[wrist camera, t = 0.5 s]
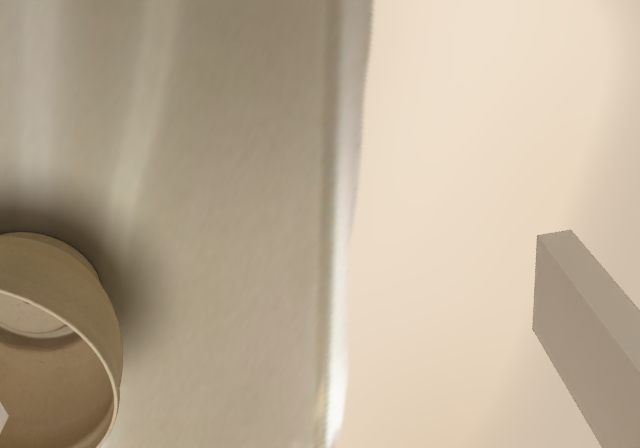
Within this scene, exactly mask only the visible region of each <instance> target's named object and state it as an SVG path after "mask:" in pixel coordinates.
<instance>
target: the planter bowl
mask: <svg viewBox="0 0 640 448" xmlns="http://www.w3.org/2000/svg"><path fill="white" fill-rule="evenodd" d="M122 367H123V346H122V338H121V332H120V328H119V324H118V320H117V317H116V314H115V311H114V308H113V306H112V304H111V301H110V299H109V297H108V295H107V294H106V292H105V290H104V289H103V287H102V286H101V283H100V280H99V277H98V275H97V273H96V271H95V270H94V268H93V267H92V265H91V264H90V263H89V261H88V260H87V259H86V258H85V257H84V256H83V255H82V254H81V253H79V252H78V251H77V250H76V249H74V248H73V247H71V246H69V245H68V244H66V243H64V242H62V241H60V240H57V239H55V238H52V237H49V236H46V235H42V234H37V233H31V232H13V233H6V234H1V235H0V402H1V404H2V406H3V407H4V409H5V411H6V412H7V414H8V418H7V421H6V423H5V425H4V427H3V429H2V431H1V433H0V448H100V447H101V446H102V445H103V443H104V442H105V441H106V439H107V438H108V436H109V435H110V433H111V431H112V429H113V426H114V424H115V420H116V417H117V413H118V407H119V399H120V390H119V388H120V383H121V376H122Z"/></svg>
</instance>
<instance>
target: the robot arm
mask: <svg viewBox="0 0 640 448" xmlns="http://www.w3.org/2000/svg"><path fill="white" fill-rule="evenodd" d="M533 331H534V332H535V334H536V336H537V337H538V339H539V341H540V343H541V344H542V346H543V348H544V349H545V351H546V353H547V355H548V356H549V358H550V360H551V361H552V363H553V365H554V367H555V368H556V370H557V372H558V373H559V375H560V377H561V378H562V380H563V382H564V384H565V385H566V387H567V389H568V390H569V392H570V394H571V396H572V397H573V399H574V401H575V402H576V404H577V406H578V407H579V409H580V411H581V412H582V414H583V416H584V418H585V420H586V421H587V423H588V424H589V426H590V428H591V430H592V431H593V433H594V435H595V436H596V438H597V440H598V442H599V443H600V445H601V447H602V448H640V310H639V309H638V308H637V307H636V305H635V304H634V303H633V302H632V301H631V299H630V298H629V297H628V296H627V295H626V294H625V293H624V291H623V290H622V289H621V288H620V287H619V285H618V284H617V283H616V282H615V281H614V280H613V279H612V277H611V276H610V275H609V274H608V272H607V271H606V270H605V269H604V268H603V267H602V265H601V264H600V263H599V262H598V261H597V260H596V259H595V257H594V256H593V255H592V254H591V253H590V251H589V250H588V249H587V248H586V247H585V246H584V244H583V243H582V242H581V241H580V240H579V239H578V237H577V236H576V235H575V234H574V233H573V231H572V230H567V231H561V232H555V233H549V234H543V235H537V248H536V269H535V289H534V308H533ZM7 418H8V414H7V412H6V411H5V409H4V407H3V406H2V404H1V402H0V433H1V431H2V429H3V427H4V425H5V423H6V421H7Z"/></svg>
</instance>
